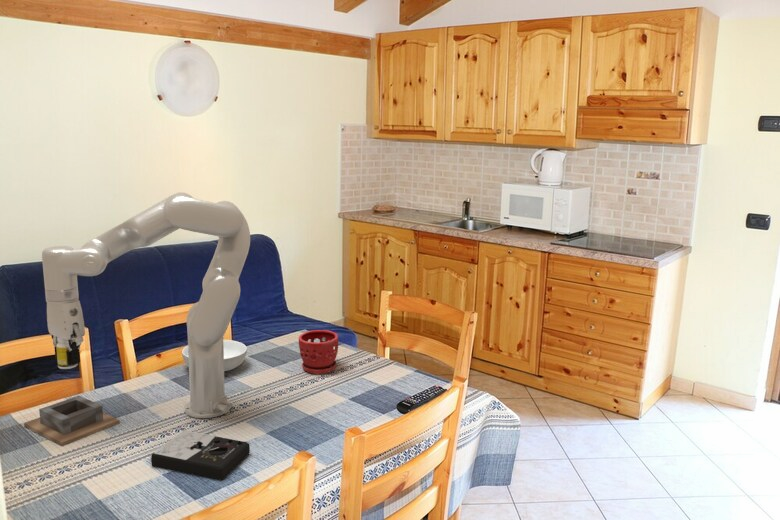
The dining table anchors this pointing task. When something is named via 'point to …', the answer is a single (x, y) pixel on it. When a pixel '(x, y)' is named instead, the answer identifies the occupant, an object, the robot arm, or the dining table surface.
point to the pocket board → (72, 434)
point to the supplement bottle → (63, 354)
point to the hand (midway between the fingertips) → (67, 360)
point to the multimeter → (201, 455)
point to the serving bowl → (226, 354)
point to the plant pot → (318, 351)
